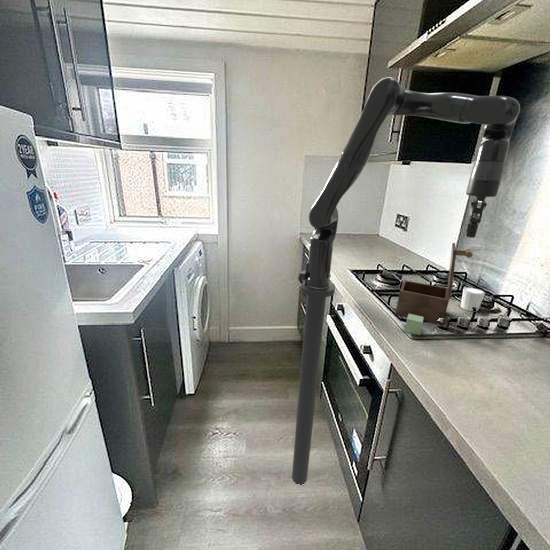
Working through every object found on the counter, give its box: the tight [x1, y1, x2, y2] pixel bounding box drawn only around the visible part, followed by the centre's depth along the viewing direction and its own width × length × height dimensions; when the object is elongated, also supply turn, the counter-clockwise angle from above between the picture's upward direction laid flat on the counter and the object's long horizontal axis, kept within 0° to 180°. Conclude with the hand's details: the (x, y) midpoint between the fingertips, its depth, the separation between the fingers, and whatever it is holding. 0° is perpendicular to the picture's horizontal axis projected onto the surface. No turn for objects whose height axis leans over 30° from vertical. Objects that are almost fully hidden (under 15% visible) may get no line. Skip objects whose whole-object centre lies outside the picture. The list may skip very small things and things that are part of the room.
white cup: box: [460, 287, 486, 312], centre depth 111 cm, size 7×7×7 cm
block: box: [404, 314, 424, 336], centre depth 93 cm, size 4×4×4 cm
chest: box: [395, 280, 450, 326], centre depth 105 cm, size 15×13×9 cm
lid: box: [447, 242, 474, 300], centre depth 97 cm, size 16×13×5 cm
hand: (470, 235), depth 91 cm, fingers open, 8 cm apart
